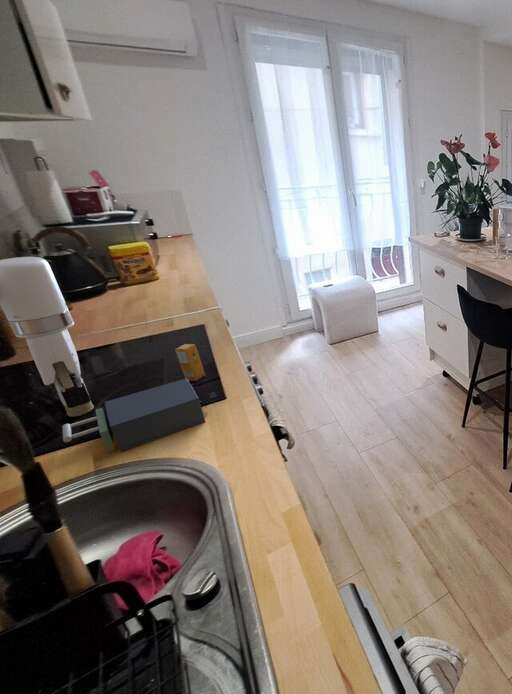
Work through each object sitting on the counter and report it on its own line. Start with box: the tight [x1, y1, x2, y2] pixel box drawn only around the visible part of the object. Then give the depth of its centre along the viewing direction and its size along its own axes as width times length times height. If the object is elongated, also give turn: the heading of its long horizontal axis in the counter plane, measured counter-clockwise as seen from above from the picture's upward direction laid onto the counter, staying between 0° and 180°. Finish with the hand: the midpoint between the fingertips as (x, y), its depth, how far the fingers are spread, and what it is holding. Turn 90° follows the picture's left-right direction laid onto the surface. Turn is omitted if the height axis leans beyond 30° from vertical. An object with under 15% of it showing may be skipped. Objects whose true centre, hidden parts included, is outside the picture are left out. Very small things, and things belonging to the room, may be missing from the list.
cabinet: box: [104, 377, 206, 453], centre depth 94 cm, size 15×13×7 cm
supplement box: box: [174, 343, 206, 382], centre depth 112 cm, size 3×3×10 cm
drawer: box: [61, 407, 116, 452], centre depth 91 cm, size 19×11×5 cm, turn 138°
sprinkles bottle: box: [53, 375, 95, 418], centre depth 96 cm, size 5×5×14 cm
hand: (79, 403), depth 84 cm, fingers closed
